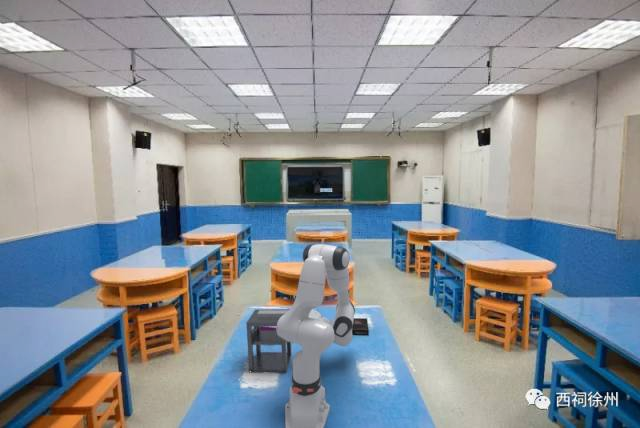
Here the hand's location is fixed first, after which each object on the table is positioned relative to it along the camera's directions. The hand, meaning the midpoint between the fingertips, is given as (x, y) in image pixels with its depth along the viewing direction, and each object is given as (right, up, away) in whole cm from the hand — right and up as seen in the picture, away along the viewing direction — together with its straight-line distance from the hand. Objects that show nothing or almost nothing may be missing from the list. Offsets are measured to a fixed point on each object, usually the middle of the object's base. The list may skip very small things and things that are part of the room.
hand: (298, 312), depth 159 cm
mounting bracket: (-18, -26, +32) cm, 45 cm away
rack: (-14, -28, +4) cm, 31 cm away
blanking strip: (-9, -2, +1) cm, 9 cm away
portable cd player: (+34, -23, +39) cm, 57 cm away
